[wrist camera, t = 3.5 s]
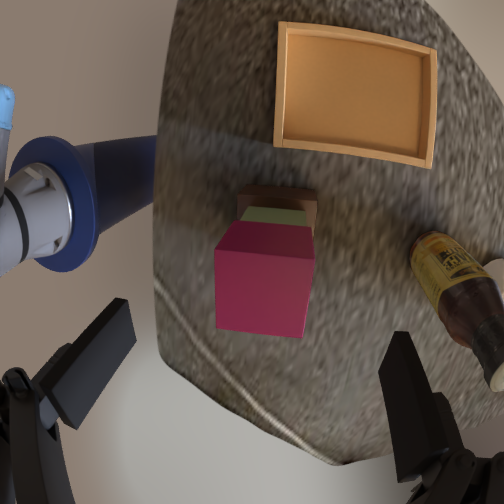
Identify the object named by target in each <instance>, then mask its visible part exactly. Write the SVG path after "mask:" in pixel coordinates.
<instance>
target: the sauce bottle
mask: <svg viewBox="0 0 504 504" xmlns="http://www.w3.org/2000/svg"><path fill="white" fill-rule="evenodd" d="M410 265H411V269H412V271H413V273H414V275H415V277H416V278H417V280H418V282H419V283H420V285H421V287H422V288H423V290H424V292H425V294H426V295H427V297H428V299H429V300H430V302H431V304H432V306H433V307H434V309H435V311H436V313H437V315H438V317H439V318H440V320H441V321H442V322H443V323H444V325H445V327H446V329H447V332H448V333H449V335H450V336H451V338H452V339H453V340H454V341H455V342H457V343H458V344H460V345H462V346H465V347H467V348H470V349H472V351H473V353H474V355H476V357H477V358H478V360H479V362H480V364H481V366H482V368H483V370H484V378H485V380H486V382H487V384H488V386H489V388H490V389H491V390H492V391H494V392H497V391H503V390H504V302H503V298H502V295H501V292H500V289H499V287H498V284H497V282H496V281H495V280H494V279H493V278H492V276H491V275H490V274H489V273H488V272H487V271H486V270H485V269H484V268H483V267H482V266H481V265H480V264H479V263H478V262H477V261H476V260H475V259H474V258H473V257H472V256H471V255H470V254H469V253H468V252H466V251H465V250H464V249H463V248H462V247H461V246H460V245H459V244H458V243H457V242H456V241H454V240H453V239H452V238H451V237H450V236H448V235H446V234H444V233H442V232H440V231H431V232H427V233H424V234H422V235H421V236H420V237H418V239H417V241H416V242H415V243H414V245H413V246H412V248H411V250H410Z"/></svg>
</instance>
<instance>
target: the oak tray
mask: <svg viewBox="0 0 504 504" xmlns="http://www.w3.org/2000/svg"><path fill="white" fill-rule="evenodd" d="M436 109H437V53H436V50H434V49H431V48H428V47H425V46H422V45H419V44H415V43H412V42H409V41H405V40H401V39H397V38H393V37H389V36H385V35H381V34H376V33H372V32H367V31H361V30H356V29H350V28H344V27H337V26H329V25H321V24H311V23H298V22H281V21H279V23H278V51H277V75H276V97H275V118H274V137H273V147H283V148H296V149H307V150H316V151H325V152H334V153H342V154H349V155H356V156H363V157H370V158H376V159H382V160H388V161H393V162H399V163H404V164H409V165H414V166H419V167H424V168H429V169H431V166H432V158H433V149H434V139H435V127H436Z"/></svg>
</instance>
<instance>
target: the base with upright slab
mask: <svg viewBox="0 0 504 504" xmlns="http://www.w3.org/2000/svg"><path fill="white" fill-rule="evenodd" d="M483 268H484V269H485V270H486V271H487V272H488V273H489V274H490V275H491V276H492V278H493V279H494V280H495V281H496V282H497V284H498V287H499V289H500V292H501V295H502V298H503V302H504V259H495V260H493V261H491V262H489V263H488V264H486V265H485V266H484V267H483Z"/></svg>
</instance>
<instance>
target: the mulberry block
mask: <svg viewBox="0 0 504 504" xmlns="http://www.w3.org/2000/svg"><path fill="white" fill-rule="evenodd" d="M214 258H215V308H216V328H219V329H226V330H233V331H240V332H248V333H256V334H265V335H274V336H283V337H294V338H302V337H303V332H304V326H305V321H306V315H307V309H308V303H309V297H310V291H311V285H312V278H313V271H314V265H315V254H314V246H313V238H312V231H311V227H307V226H297V225H287V224H276V223H264V222H253V221H241V220H234V221H233V223H232V224H231V226H230V227H229V229H228V230H227V232H226V233H225V235H224V236H223V238H222V239H221V241H220V242H219V244H218V245H217V247H216V248H215V250H214Z"/></svg>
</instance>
